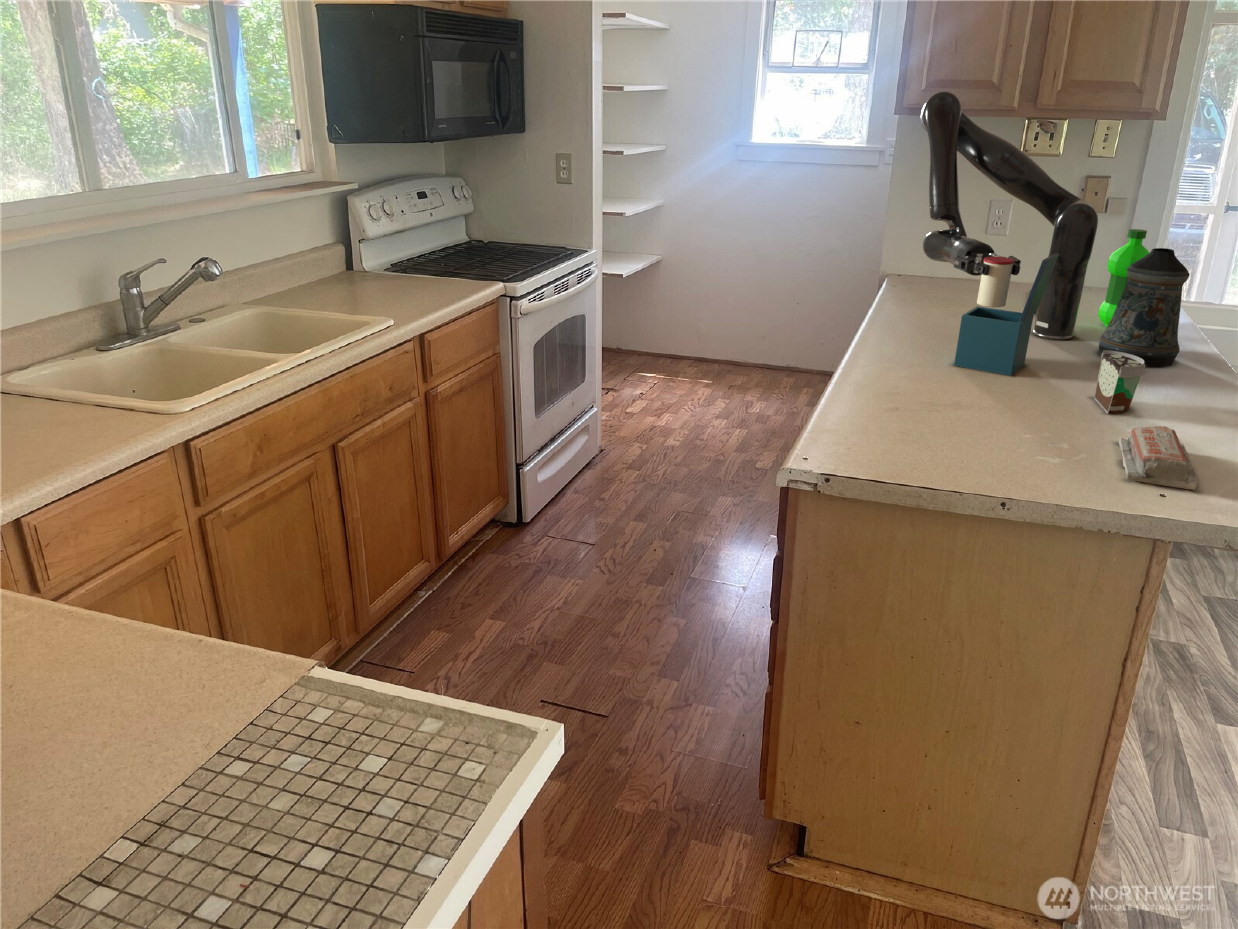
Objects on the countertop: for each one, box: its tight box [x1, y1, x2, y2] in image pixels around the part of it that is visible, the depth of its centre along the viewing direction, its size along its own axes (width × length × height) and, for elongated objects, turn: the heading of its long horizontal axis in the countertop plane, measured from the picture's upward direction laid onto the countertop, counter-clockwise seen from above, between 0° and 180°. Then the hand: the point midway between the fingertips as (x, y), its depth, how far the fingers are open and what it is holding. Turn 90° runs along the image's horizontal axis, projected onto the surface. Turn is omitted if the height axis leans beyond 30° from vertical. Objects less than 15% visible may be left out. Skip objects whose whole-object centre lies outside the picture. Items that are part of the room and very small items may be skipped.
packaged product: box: [1118, 425, 1199, 491], centre depth 146 cm, size 18×5×10 cm
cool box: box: [953, 306, 1035, 377], centre depth 198 cm, size 13×11×12 cm
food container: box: [1093, 350, 1146, 415], centre depth 172 cm, size 12×6×10 cm, turn 168°
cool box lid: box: [1019, 253, 1059, 322], centre depth 188 cm, size 14×11×1 cm
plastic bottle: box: [1098, 228, 1150, 327], centre depth 227 cm, size 10×10×25 cm
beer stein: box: [1098, 247, 1190, 368], centre depth 201 cm, size 16×19×25 cm
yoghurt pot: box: [976, 256, 1014, 308], centre depth 193 cm, size 6×6×10 cm
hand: (1002, 270), depth 190 cm, fingers closed on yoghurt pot, 6 cm apart
